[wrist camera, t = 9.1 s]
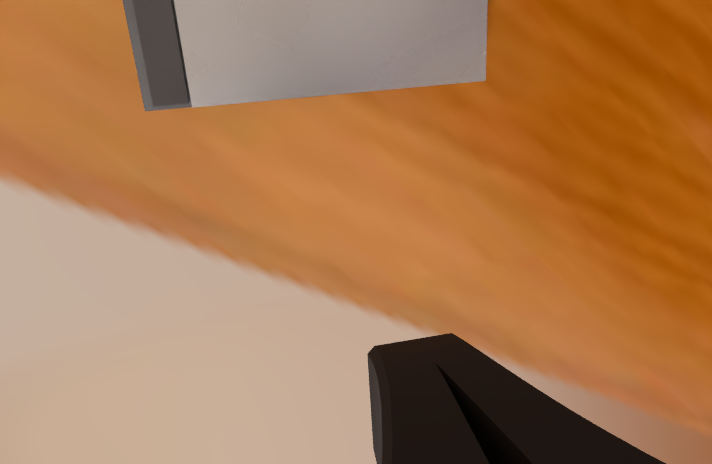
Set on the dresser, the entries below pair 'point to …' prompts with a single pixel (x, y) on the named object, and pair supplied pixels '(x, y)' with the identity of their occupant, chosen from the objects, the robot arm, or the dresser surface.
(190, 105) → the base plate
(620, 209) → the dresser surface
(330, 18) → the block
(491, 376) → the robot arm
